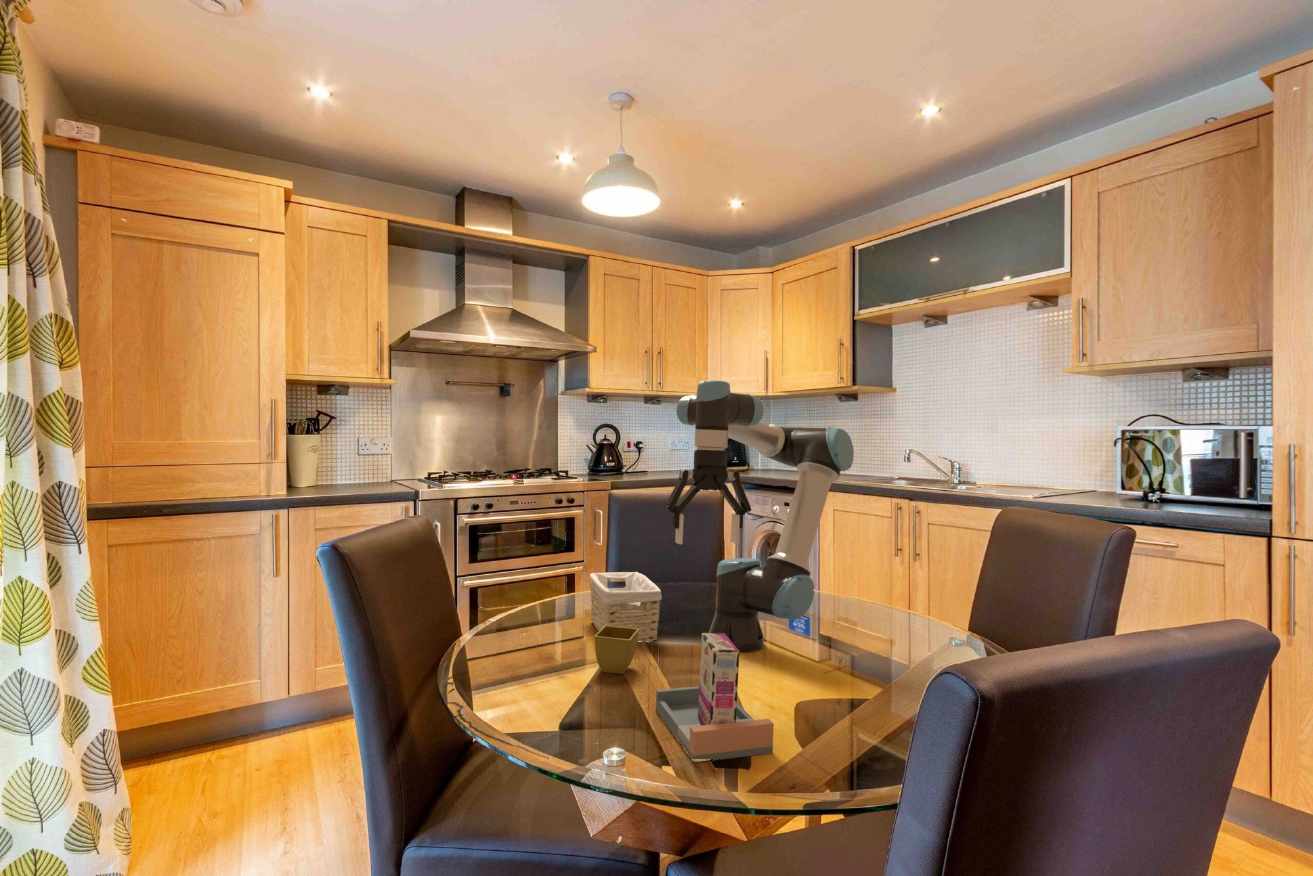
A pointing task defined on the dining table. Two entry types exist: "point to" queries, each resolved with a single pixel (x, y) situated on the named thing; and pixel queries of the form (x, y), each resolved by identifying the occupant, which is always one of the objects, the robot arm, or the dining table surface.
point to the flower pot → (615, 648)
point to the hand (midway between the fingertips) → (707, 543)
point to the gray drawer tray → (712, 728)
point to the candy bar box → (718, 679)
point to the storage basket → (626, 603)
